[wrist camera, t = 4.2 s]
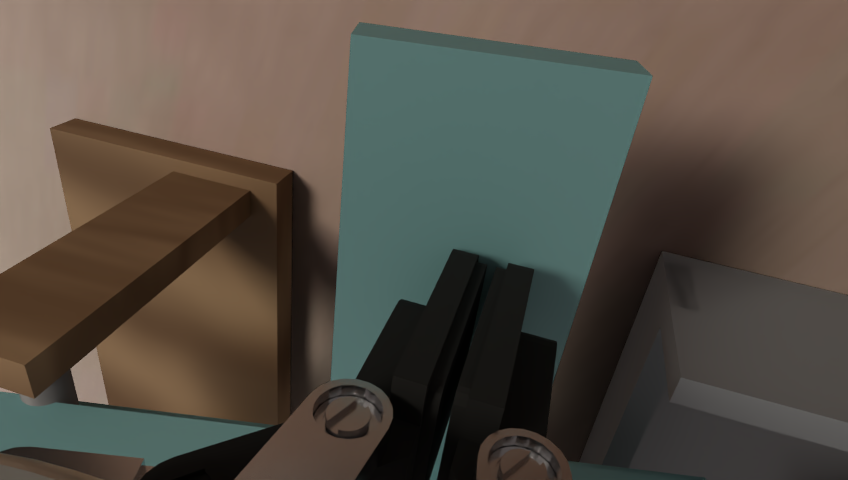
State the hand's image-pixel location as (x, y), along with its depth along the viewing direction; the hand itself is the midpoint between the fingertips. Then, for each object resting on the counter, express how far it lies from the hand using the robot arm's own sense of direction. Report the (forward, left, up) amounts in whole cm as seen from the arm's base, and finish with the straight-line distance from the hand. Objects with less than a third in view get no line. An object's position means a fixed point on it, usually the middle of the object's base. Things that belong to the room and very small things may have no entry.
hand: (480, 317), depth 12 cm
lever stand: (+9, -13, -8) cm, 17 cm away
